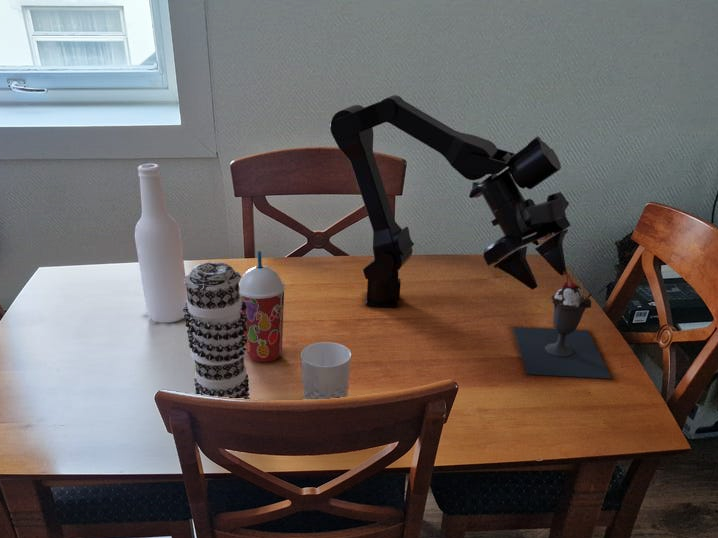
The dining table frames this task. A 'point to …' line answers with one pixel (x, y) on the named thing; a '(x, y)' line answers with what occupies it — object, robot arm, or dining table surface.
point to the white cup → (325, 370)
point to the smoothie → (263, 311)
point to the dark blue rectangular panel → (544, 364)
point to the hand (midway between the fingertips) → (549, 281)
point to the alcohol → (159, 252)
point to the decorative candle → (217, 330)
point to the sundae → (567, 315)
